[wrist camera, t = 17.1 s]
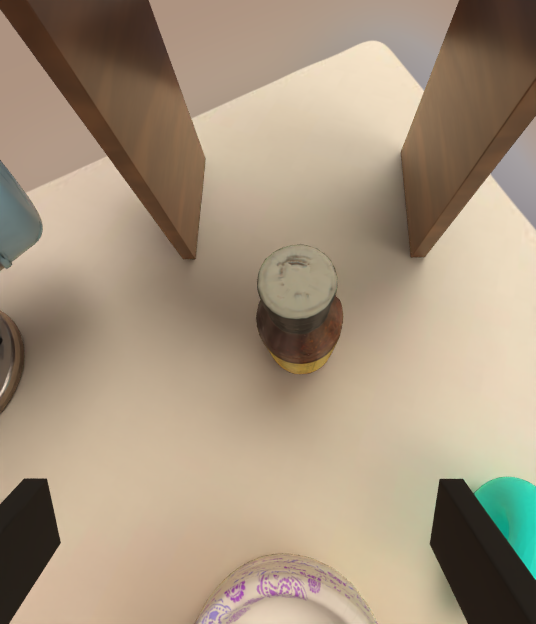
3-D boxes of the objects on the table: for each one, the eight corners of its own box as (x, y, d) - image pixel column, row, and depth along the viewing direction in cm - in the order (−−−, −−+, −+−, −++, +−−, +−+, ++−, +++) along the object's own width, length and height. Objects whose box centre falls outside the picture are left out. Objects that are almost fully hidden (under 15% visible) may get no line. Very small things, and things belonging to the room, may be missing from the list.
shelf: (182, 259, 40) (-157, -204, 10) (194, 158, 44) (-26, -386, 14) (424, 257, 38) (908, -357, 8) (413, 151, 42) (703, -523, 12)
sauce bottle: (293, 306, 38) (287, 193, 19) (343, 339, 36) (392, 252, 17) (257, 355, 36) (211, 288, 17) (307, 391, 35) (317, 361, 16)
